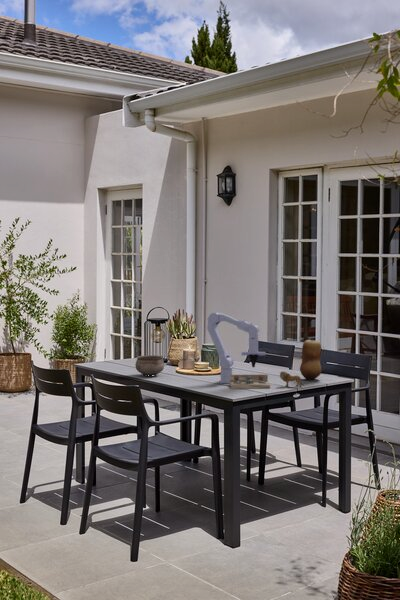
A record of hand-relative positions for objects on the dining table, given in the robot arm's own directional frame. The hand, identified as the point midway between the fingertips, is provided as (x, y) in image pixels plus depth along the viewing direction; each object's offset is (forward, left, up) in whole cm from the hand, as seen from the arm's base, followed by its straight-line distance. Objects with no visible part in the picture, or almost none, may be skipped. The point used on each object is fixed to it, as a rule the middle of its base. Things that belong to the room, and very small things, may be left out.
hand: (253, 367), depth 483 cm
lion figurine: (+10, +22, -11) cm, 26 cm away
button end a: (+8, -11, -10) cm, 16 cm away
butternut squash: (-17, +38, -11) cm, 43 cm away
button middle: (+8, -3, -9) cm, 12 cm away
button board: (+8, -3, -10) cm, 13 cm away
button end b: (+8, +4, -10) cm, 13 cm away
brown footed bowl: (-36, -64, -11) cm, 74 cm away
